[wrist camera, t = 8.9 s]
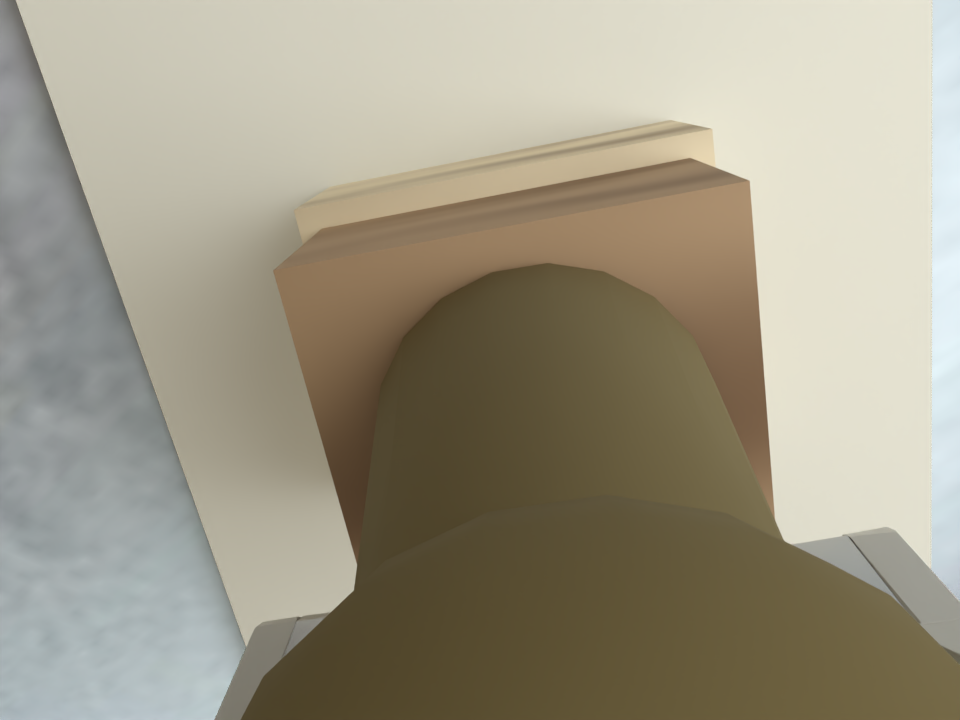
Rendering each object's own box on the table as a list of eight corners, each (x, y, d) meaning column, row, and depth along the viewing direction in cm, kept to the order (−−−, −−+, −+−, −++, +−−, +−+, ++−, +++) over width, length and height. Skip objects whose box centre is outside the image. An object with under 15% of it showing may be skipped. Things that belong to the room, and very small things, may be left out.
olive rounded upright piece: (581, 651, 15) (775, 1973, 4) (309, 471, 14) (-359, 1452, 3) (794, 399, 13) (1975, 1322, 3) (507, 189, 13) (483, 257, 2)
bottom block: (330, 186, 21) (293, 210, 17) (671, 120, 20) (712, 128, 16) (404, 484, 24) (388, 560, 20) (703, 434, 23) (745, 504, 19)
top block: (321, 228, 17) (272, 270, 13) (690, 157, 16) (749, 180, 13) (402, 540, 20) (381, 650, 16) (723, 490, 19) (780, 591, 15)
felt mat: (19, -26, 20) (5, -29, 19) (918, -229, 18) (932, -239, 17) (263, 670, 27) (259, 683, 26) (921, 574, 25) (931, 585, 24)
